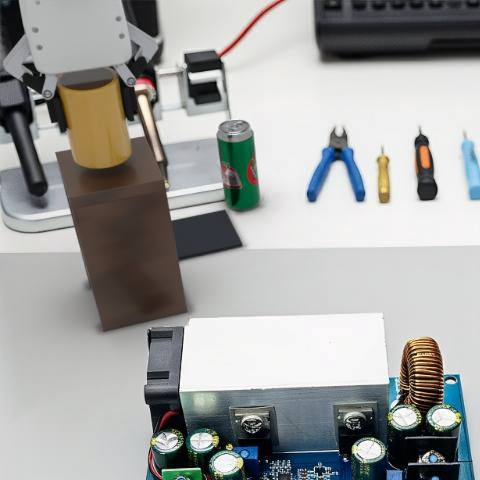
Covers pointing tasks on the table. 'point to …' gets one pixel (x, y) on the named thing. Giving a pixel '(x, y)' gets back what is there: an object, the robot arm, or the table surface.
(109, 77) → the cup
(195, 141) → the table surface
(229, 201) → the soda can
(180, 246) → the mat
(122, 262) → the tall brown wooden block
